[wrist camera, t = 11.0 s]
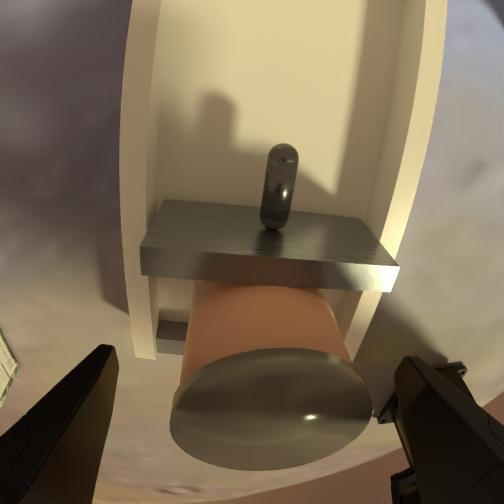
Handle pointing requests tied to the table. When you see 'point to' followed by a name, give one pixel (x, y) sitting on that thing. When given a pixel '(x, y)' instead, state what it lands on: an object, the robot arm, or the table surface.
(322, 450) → the terracotta jar
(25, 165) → the table surface
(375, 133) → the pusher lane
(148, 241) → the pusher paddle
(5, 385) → the syrup box
